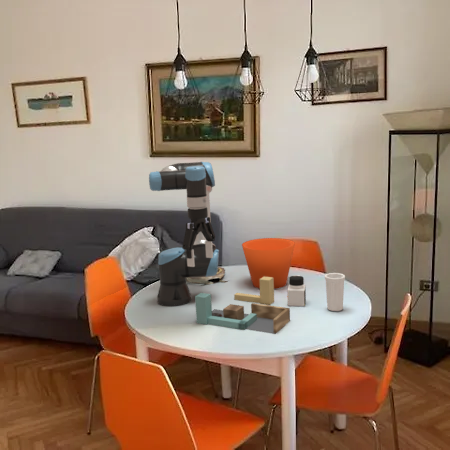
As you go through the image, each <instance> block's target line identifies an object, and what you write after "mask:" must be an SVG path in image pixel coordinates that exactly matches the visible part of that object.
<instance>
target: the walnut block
mask: <svg viewBox="0 0 450 450" xmlns="http://www.w3.org/2000/svg"><path fill="white" fill-rule="evenodd" d="M244 306H245V305H241V304H240V305H239V304H233V303H229V305H226V306H225V307H224V308H223V309H222V310H223V315H224V318H230V319H236V320H242V319H244V314H245V310H244V309H245V307H244Z"/></svg>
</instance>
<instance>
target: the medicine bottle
mask: <svg viewBox="0 0 450 450" xmlns="http://www.w3.org/2000/svg"><path fill="white" fill-rule="evenodd" d="M288 282H289V284H288V286H287V291H286V292H287V306H288V307H305V306H306V298H307V294H306V288H307V287H306V285H305V283H304V282H305V279H304V277H303V276H302V275H299V274H297V275H296V274H294V275H291V276H289V277H288Z"/></svg>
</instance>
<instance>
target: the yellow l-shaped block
mask: <svg viewBox="0 0 450 450" xmlns="http://www.w3.org/2000/svg"><path fill="white" fill-rule="evenodd" d="M259 280H260V288H259V295H258V294H250V293H242V292H236V293H234V294H233V296H234V300H235V301H241V302H247V303H248V302H249V303H255V304H262V305H270V306H272V305H273V304H274V302H275V289H274V279H273V277H262V278H261V279H259Z"/></svg>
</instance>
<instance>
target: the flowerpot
mask: <svg viewBox="0 0 450 450" xmlns="http://www.w3.org/2000/svg"><path fill="white" fill-rule="evenodd" d="M295 244H296V242H295V241H293V240H291V239H287V238H281V237H280V238H279V237H266V238H265V237H264V238H261V237H260V238H256V239H255V238H254V239H250V240H246V241H244V242H243V243H242V244H241V247H242V251H243V254H244V258H245V262H246V264H247V268H248V272H249V275H250V279H251V283H252V286H253V287H255V288H256V289H260V280H259V279H261V278H262V277H273V279H274V290H276V289H281V288H284V287H285V286H286V285H287V283H288V280H289V274H290V269H291V264H292V260H293V255H294V249H295V246H296V245H295Z"/></svg>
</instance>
